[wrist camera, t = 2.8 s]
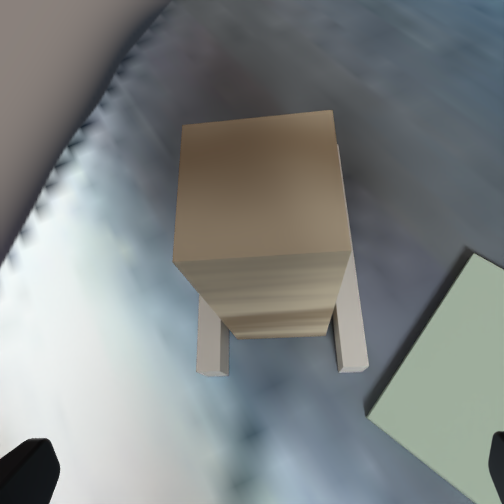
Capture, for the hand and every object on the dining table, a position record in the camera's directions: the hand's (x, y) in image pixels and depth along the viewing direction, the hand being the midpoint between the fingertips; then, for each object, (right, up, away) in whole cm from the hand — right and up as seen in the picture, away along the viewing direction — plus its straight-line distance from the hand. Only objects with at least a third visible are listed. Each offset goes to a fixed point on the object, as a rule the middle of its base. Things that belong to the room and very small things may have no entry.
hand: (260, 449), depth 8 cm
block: (+1, +1, +15) cm, 15 cm away
